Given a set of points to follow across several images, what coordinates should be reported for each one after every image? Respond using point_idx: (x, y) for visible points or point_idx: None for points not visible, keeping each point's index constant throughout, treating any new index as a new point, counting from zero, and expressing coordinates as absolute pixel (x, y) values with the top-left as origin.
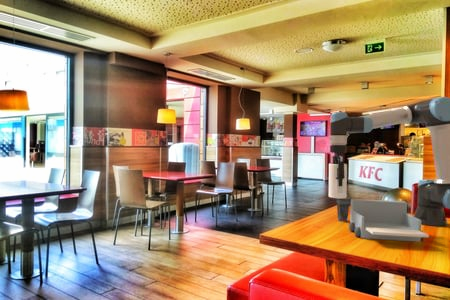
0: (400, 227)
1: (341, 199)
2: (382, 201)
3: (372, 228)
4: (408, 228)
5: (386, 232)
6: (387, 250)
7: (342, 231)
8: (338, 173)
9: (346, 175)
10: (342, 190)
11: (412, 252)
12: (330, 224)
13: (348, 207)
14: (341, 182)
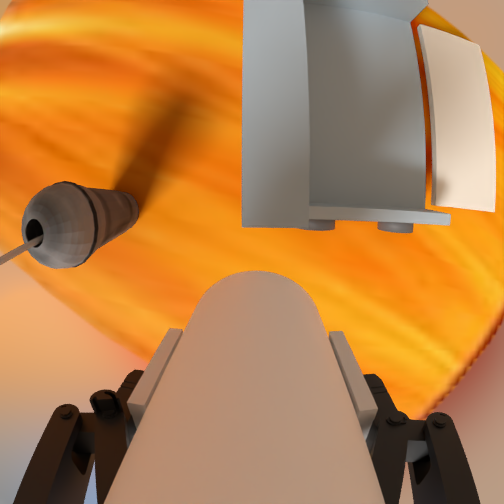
0: (361, 41)
1: (93, 245)
2: (303, 30)
3: (452, 187)
4: (367, 22)
5: (494, 166)
6: (497, 184)
7: (324, 259)
8: (418, 487)
9: (321, 401)
10: (347, 346)
11: (497, 124)
12: (208, 282)
13: (101, 192)
14: (387, 401)
